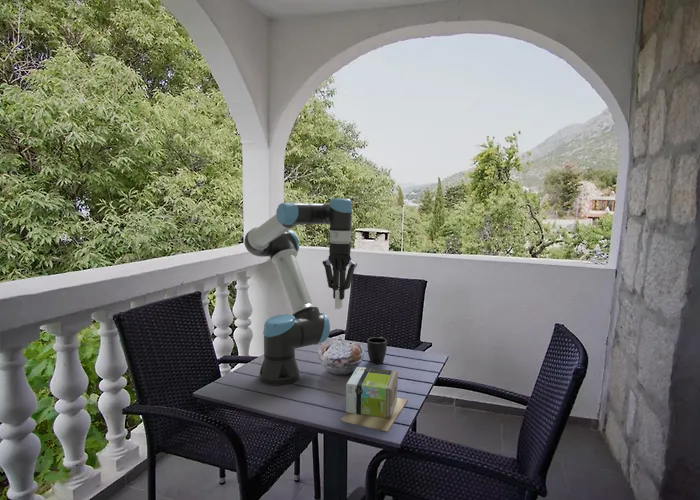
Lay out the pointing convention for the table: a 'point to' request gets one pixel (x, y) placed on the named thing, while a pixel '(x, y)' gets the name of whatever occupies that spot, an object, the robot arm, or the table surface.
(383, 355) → the mug
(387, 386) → the tea box
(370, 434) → the table surface
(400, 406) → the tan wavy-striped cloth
